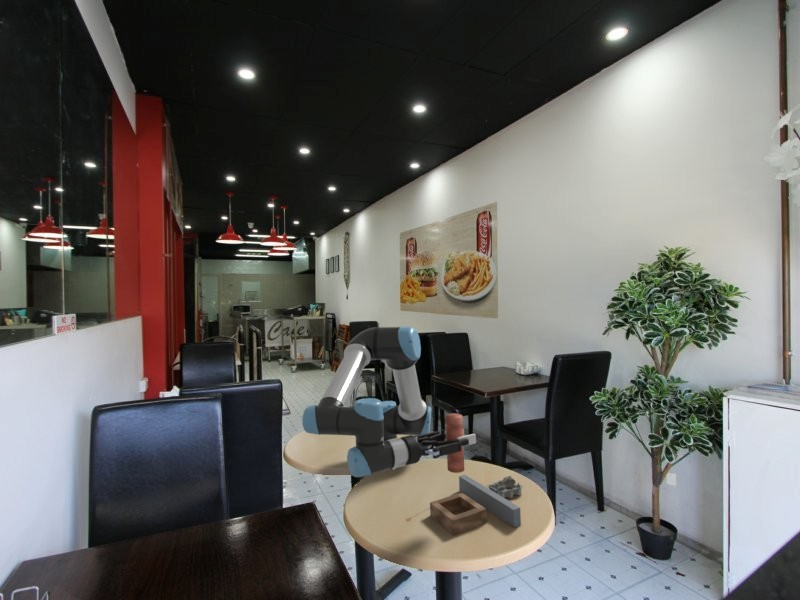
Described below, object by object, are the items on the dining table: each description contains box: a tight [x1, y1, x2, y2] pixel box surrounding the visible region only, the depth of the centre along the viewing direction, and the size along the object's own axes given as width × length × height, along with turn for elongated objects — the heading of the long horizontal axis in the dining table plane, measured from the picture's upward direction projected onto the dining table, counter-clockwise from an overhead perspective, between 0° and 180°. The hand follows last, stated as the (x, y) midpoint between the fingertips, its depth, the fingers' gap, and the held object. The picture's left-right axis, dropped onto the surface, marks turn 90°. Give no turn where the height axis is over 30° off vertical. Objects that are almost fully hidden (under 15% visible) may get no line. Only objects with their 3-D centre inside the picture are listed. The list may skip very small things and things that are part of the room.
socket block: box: [429, 492, 488, 536], centre depth 119 cm, size 12×12×4 cm
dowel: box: [445, 413, 465, 474], centre depth 119 cm, size 5×5×16 cm
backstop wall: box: [458, 474, 522, 528], centre depth 126 cm, size 26×2×5 cm, turn 28°
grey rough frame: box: [486, 475, 524, 499], centre depth 134 cm, size 11×8×4 cm
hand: (469, 435), depth 122 cm, fingers closed on dowel, 5 cm apart
